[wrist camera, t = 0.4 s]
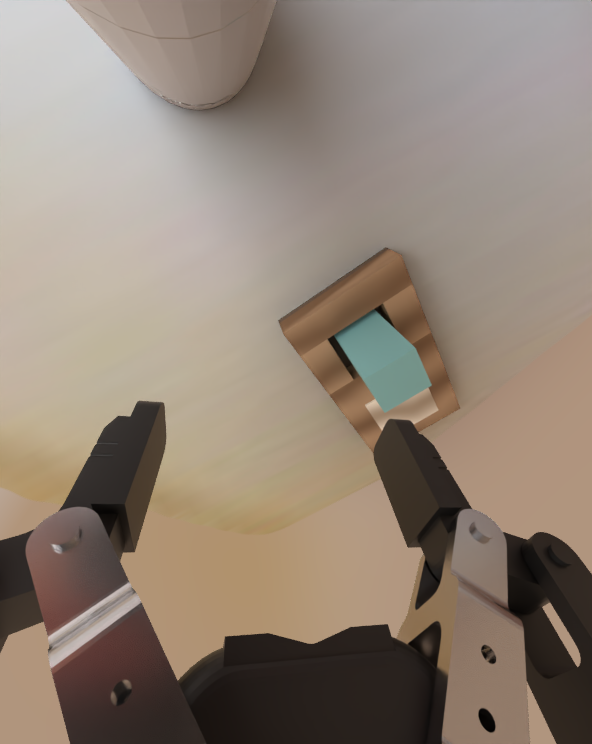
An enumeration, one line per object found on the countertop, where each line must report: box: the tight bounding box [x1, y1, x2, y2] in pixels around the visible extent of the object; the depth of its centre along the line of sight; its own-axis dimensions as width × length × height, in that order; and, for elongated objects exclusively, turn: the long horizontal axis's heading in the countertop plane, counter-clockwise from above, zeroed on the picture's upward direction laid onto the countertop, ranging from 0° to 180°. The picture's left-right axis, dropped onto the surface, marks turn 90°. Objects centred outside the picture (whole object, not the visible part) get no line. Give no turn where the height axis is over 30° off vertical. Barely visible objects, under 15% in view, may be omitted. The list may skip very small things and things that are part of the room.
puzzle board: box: [278, 248, 460, 453], centre depth 34 cm, size 22×12×3 cm, turn 32°
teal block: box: [334, 309, 432, 413], centre depth 29 cm, size 4×4×9 cm
